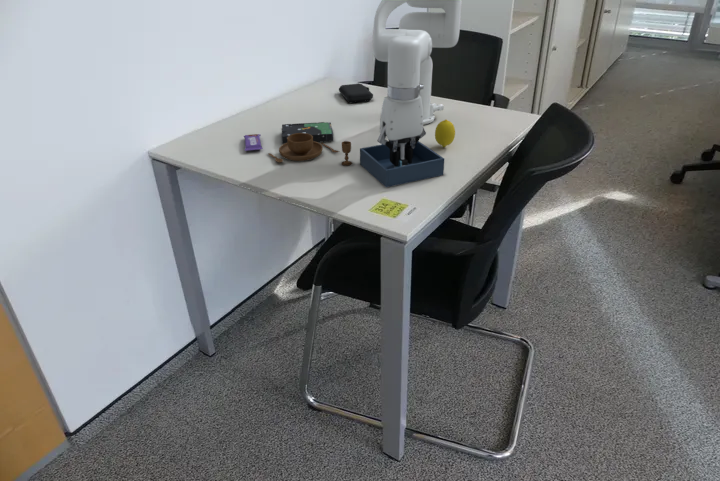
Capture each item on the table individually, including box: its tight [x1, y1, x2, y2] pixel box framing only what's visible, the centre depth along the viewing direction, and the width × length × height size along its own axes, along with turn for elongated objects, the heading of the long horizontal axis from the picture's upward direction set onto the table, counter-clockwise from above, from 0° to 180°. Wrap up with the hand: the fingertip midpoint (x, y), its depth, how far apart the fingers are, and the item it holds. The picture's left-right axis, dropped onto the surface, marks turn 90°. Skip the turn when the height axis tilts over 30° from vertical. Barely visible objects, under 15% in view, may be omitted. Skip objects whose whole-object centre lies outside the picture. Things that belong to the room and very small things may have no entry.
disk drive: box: [281, 121, 334, 145], centre depth 159 cm, size 10×3×15 cm
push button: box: [392, 138, 410, 168], centre depth 137 cm, size 7×5×10 cm
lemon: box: [434, 119, 456, 148], centre depth 150 cm, size 6×6×8 cm
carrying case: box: [338, 83, 374, 104], centre depth 191 cm, size 11×3×15 cm
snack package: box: [243, 133, 263, 152], centre depth 154 cm, size 12×2×5 cm
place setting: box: [268, 133, 353, 167], centre depth 145 cm, size 18×20×6 cm
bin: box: [359, 140, 445, 188], centre depth 138 cm, size 16×15×4 cm
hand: (401, 162), depth 138 cm, fingers closed on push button, 3 cm apart
